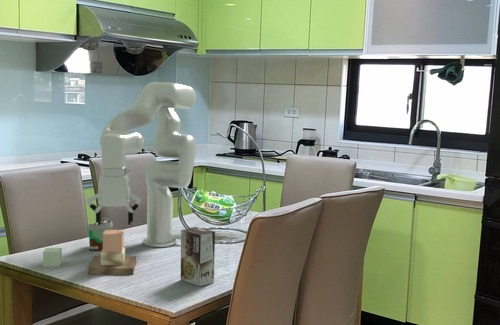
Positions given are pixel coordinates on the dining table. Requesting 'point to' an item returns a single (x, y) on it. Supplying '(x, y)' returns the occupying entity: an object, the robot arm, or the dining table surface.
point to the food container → (98, 233)
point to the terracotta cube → (113, 240)
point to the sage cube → (52, 257)
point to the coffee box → (197, 256)
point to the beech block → (112, 258)
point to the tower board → (112, 266)
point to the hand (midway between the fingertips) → (114, 223)
